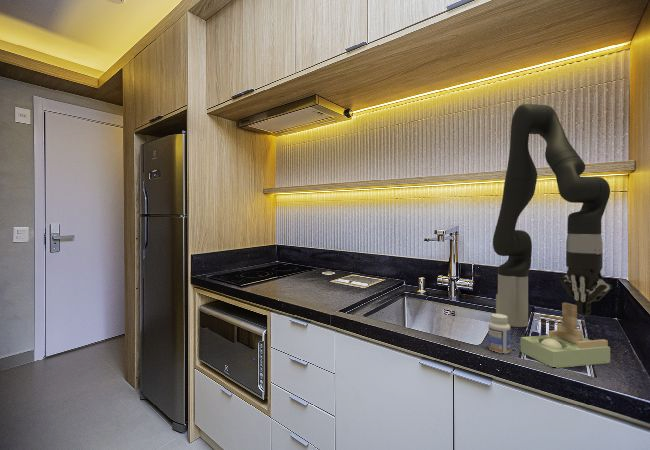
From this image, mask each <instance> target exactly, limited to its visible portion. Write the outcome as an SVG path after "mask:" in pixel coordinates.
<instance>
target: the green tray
mask: <svg viewBox="0 0 650 450" xmlns="http://www.w3.org/2000/svg"><path fill="white" fill-rule="evenodd" d="M544 339H554V340H556V341H558V342H559V343H560V344H561V346H562V347H563V348H559V347H551V346H547V345H544V344H542V343H541V342H542V341H543V340H544ZM608 342H609V340H607V339H593V340H592V339H588V338H586V337H583V341H577V344H575V343H572V342H570V341H567V340H565V339H562V338H559V337H557V329H553V330H548V334H546V335H536V336H535V335H534V336H521V337H520V353H522V354H524V355H526V356H528V357H531V358H532V359H534V360H536V361H538V362H540V363H542V364H544V365H546V366H548V365H549V366H548V367H550V366H552V367H556V368H555V369H559V368H560V369H562V368H571V367H583V366H592V365H600V364H601V365H603V364H611V346H608V345H609V343H608ZM552 367H551V368H552Z"/></svg>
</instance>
